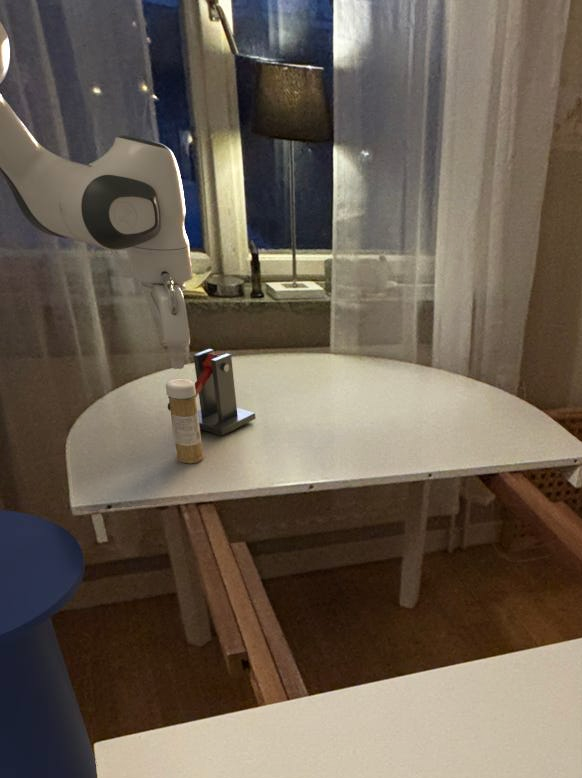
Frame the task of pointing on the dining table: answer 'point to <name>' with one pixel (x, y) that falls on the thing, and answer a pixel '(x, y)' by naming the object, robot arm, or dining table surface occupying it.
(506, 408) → the dining table surface
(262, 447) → the dining table surface
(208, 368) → the lever
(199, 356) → the bracket
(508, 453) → the dining table surface
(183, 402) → the sprinkles bottle
